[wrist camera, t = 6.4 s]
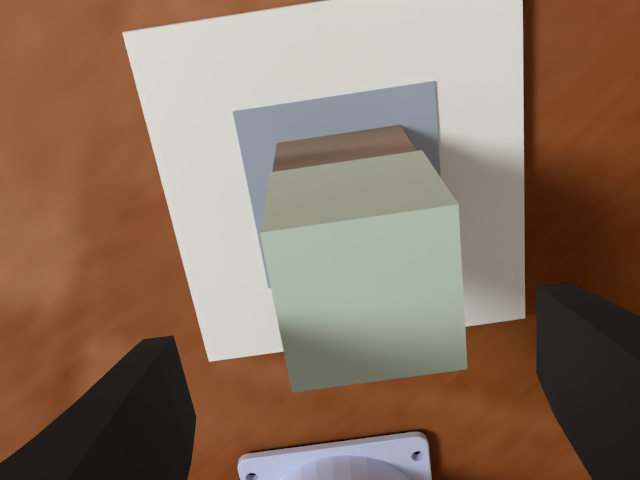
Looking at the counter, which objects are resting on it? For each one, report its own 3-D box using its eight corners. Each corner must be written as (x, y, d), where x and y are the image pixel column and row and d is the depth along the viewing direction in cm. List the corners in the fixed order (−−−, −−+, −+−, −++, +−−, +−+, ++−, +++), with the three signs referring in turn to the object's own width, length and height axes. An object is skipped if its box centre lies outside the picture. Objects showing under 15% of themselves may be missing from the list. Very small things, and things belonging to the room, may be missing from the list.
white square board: (519, 310, 23) (526, 319, 23) (211, 352, 24) (208, 363, 23) (516, -30, 18) (523, -31, 18) (127, 30, 19) (121, 32, 18)
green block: (432, 285, 17) (467, 369, 14) (293, 304, 17) (291, 392, 14) (422, 150, 16) (459, 204, 12) (269, 172, 16) (259, 232, 12)
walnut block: (410, 237, 21) (432, 293, 17) (296, 254, 21) (295, 312, 18) (399, 124, 20) (422, 160, 16) (276, 143, 20) (270, 182, 16)
